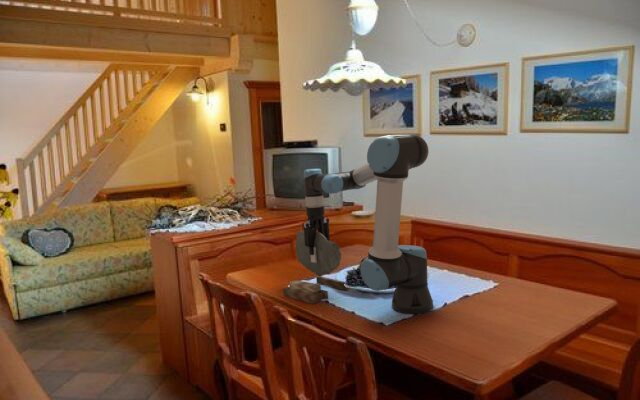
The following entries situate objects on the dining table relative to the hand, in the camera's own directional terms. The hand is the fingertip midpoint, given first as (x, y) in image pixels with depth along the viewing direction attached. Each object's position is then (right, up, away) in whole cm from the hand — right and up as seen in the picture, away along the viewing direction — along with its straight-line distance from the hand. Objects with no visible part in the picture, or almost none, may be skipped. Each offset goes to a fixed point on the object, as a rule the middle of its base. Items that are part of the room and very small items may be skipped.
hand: (318, 260), depth 204 cm
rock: (+1, -7, +1) cm, 7 cm away
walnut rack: (-1, -14, 0) cm, 14 cm away
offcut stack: (-6, -15, -4) cm, 16 cm away
